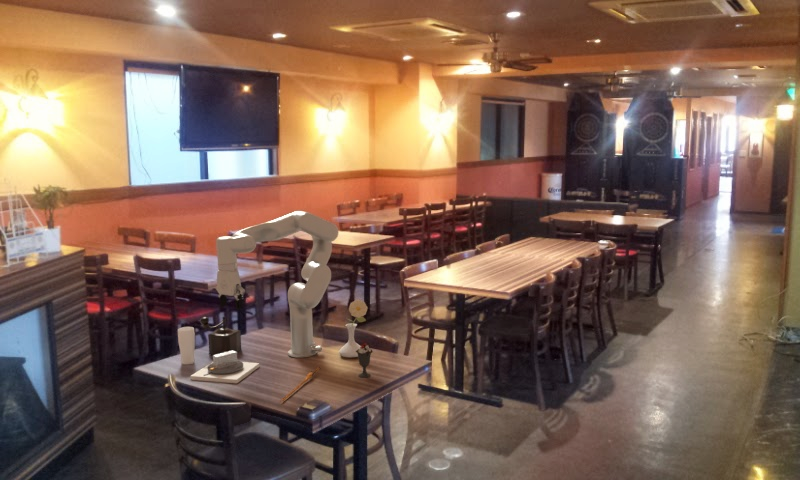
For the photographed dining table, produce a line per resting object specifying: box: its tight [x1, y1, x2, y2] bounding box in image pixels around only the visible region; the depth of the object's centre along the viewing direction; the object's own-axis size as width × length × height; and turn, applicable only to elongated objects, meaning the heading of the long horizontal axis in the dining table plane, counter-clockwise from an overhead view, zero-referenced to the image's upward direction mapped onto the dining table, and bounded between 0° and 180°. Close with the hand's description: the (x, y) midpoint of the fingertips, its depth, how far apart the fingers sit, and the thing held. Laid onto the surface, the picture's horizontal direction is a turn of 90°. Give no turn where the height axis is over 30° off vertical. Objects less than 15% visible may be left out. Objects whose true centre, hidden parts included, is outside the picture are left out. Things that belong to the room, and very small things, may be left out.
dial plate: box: [190, 361, 260, 384], centre depth 277 cm, size 20×20×2 cm
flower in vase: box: [338, 299, 369, 359], centre depth 296 cm, size 13×11×25 cm
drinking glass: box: [177, 326, 196, 366], centre depth 289 cm, size 7×7×15 cm
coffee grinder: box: [199, 316, 242, 356], centre depth 300 cm, size 16×11×18 cm
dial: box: [208, 350, 243, 374], centre depth 277 cm, size 14×14×6 cm
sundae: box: [356, 339, 373, 378], centre depth 271 cm, size 7×7×15 cm
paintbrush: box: [280, 366, 321, 404], centre depth 261 cm, size 1×35×3 cm, turn 164°
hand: (231, 307), depth 281 cm, fingers open, 9 cm apart
